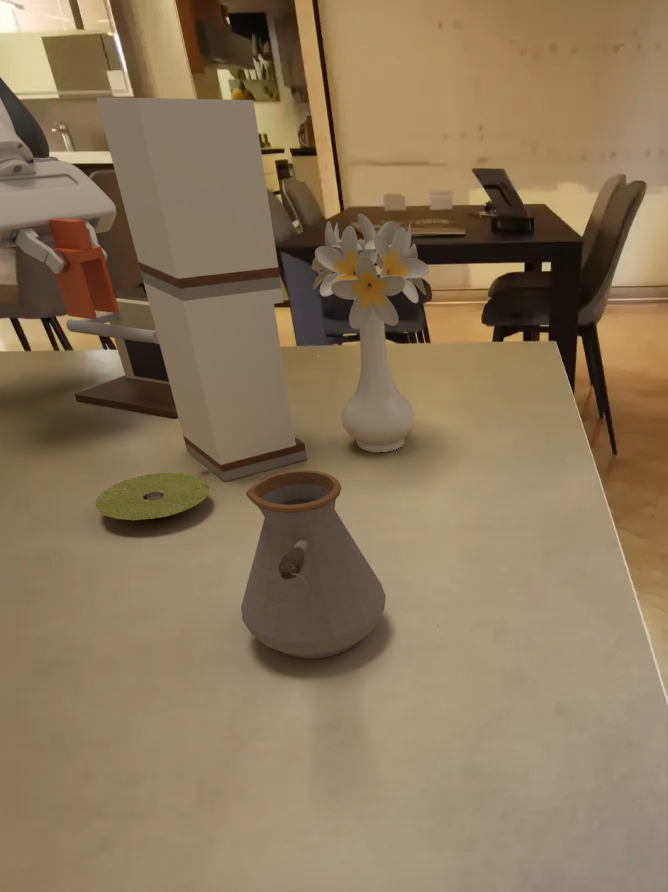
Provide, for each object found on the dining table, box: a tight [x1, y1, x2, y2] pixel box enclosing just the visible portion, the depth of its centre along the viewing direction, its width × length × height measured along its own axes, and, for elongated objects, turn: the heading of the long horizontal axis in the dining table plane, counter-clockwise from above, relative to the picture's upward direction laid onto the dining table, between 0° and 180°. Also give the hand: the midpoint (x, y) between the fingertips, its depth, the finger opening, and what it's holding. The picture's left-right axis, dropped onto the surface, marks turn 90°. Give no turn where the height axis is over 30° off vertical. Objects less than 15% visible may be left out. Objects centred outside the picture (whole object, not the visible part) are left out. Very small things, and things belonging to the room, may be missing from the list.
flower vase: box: [311, 213, 430, 454], centre depth 82 cm, size 13×18×25 cm
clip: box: [49, 218, 119, 319], centre depth 83 cm, size 4×4×10 cm
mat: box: [95, 472, 210, 521], centre depth 74 cm, size 11×11×2 cm
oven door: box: [65, 297, 179, 419], centre depth 100 cm, size 11×18×12 cm, turn 68°
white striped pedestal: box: [95, 96, 308, 482], centre depth 76 cm, size 11×11×35 cm
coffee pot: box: [240, 469, 387, 660], centre depth 50 cm, size 21×12×15 cm, turn 11°
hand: (83, 265), depth 82 cm, fingers closed on clip, 4 cm apart
